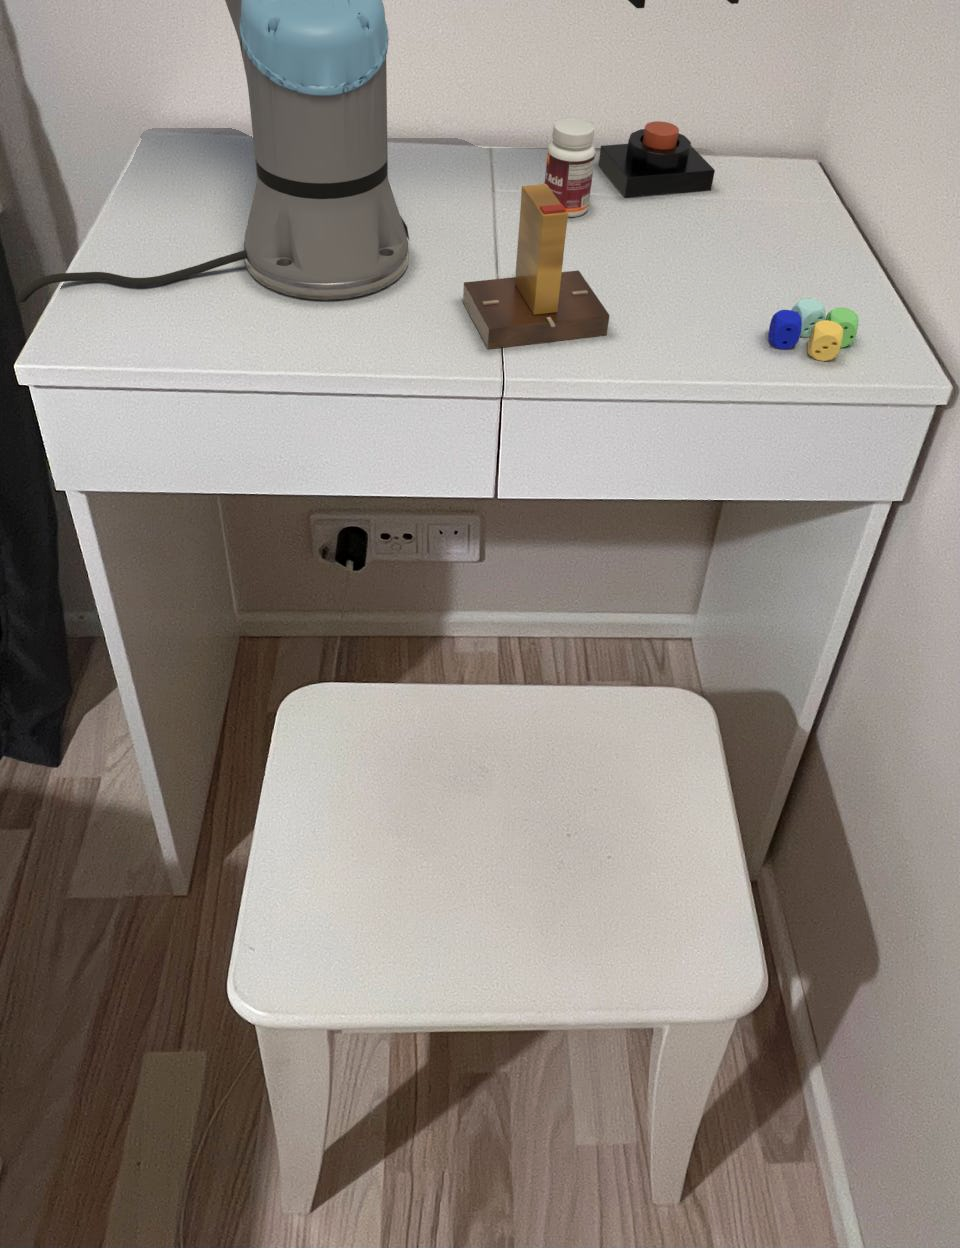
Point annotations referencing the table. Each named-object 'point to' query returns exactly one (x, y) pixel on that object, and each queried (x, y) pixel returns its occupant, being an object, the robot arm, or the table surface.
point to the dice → (814, 328)
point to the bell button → (660, 135)
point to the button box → (655, 168)
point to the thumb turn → (540, 248)
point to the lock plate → (514, 323)
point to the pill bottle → (571, 164)
